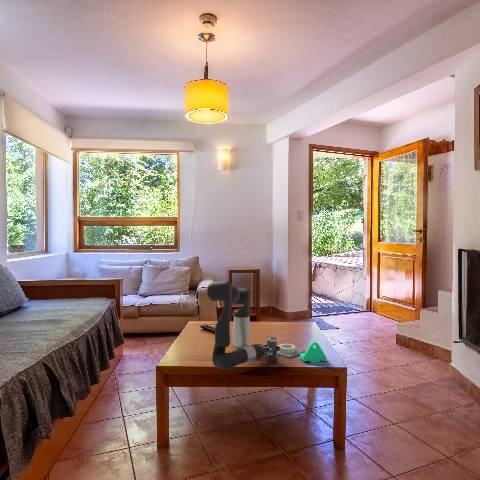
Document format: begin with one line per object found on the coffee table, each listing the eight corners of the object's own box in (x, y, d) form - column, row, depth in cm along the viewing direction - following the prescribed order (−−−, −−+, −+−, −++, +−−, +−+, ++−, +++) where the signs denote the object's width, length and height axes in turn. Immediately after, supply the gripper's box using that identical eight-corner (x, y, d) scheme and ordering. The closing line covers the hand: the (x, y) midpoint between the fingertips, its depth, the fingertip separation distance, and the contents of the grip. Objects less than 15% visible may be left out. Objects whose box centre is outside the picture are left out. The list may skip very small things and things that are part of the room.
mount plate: (268, 352, 207) (268, 346, 206) (284, 347, 216) (284, 341, 216) (288, 358, 197) (288, 351, 196) (304, 352, 206) (304, 346, 206)
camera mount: (321, 357, 199) (321, 338, 199) (326, 362, 191) (326, 342, 191) (299, 358, 198) (299, 338, 198) (303, 363, 190) (303, 342, 190)
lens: (264, 361, 192) (264, 338, 192) (271, 359, 195) (271, 336, 195) (272, 364, 188) (272, 340, 188) (278, 361, 192) (279, 338, 191)
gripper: (260, 349, 177) (285, 342, 188) (241, 342, 188) (265, 336, 199) (260, 365, 177) (285, 357, 188) (240, 357, 188) (265, 350, 199)
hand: (275, 346), depth 193 cm, fingers closed on lens, 5 cm apart
